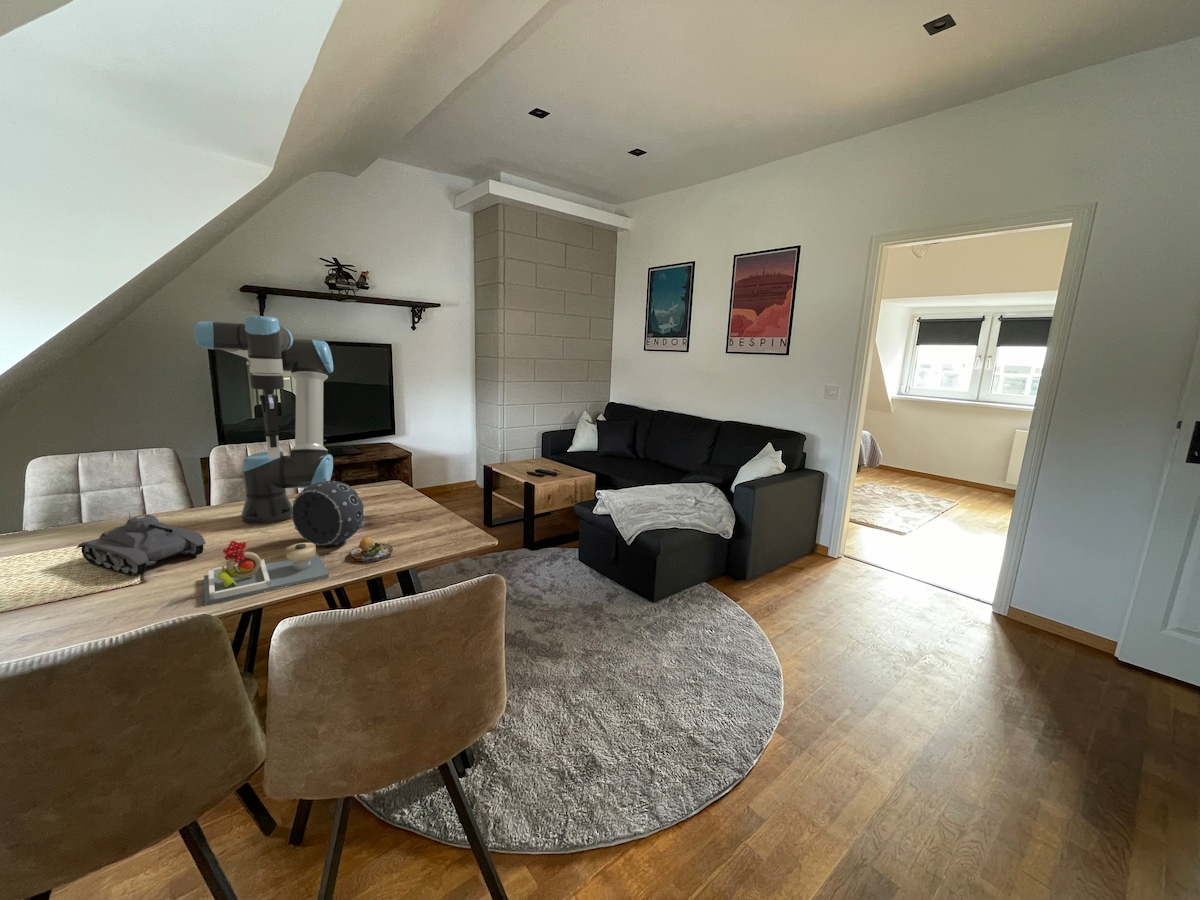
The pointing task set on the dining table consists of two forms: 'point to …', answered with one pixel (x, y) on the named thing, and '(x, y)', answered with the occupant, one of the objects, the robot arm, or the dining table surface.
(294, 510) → the dotted grey bowl
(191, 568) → the dining table surface
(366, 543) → the burger
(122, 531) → the toy tank
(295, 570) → the board
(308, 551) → the wheel
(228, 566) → the bird rattle
